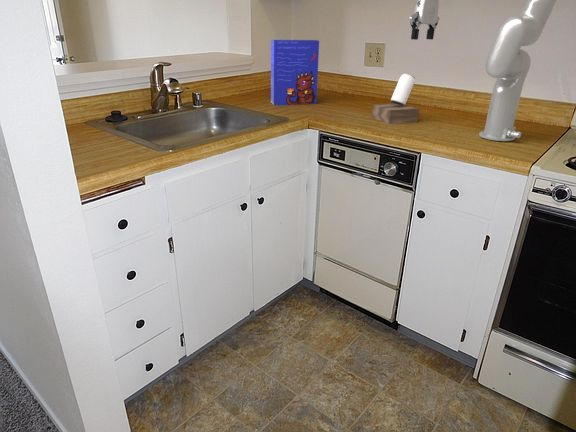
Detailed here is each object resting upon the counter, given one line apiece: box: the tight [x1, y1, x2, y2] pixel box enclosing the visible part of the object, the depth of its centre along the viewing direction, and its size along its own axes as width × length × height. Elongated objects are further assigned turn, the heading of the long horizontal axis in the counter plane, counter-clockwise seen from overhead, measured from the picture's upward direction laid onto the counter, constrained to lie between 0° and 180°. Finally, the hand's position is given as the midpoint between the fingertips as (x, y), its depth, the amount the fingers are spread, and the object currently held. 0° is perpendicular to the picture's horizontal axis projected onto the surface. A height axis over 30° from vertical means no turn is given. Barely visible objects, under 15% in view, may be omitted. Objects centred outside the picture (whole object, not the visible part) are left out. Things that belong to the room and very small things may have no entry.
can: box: [390, 72, 416, 106], centre depth 185 cm, size 6×6×12 cm
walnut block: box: [371, 102, 420, 125], centre depth 187 cm, size 14×14×6 cm
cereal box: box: [270, 39, 320, 106], centre depth 210 cm, size 22×6×30 cm, turn 105°
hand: (422, 39), depth 182 cm, fingers open, 9 cm apart
